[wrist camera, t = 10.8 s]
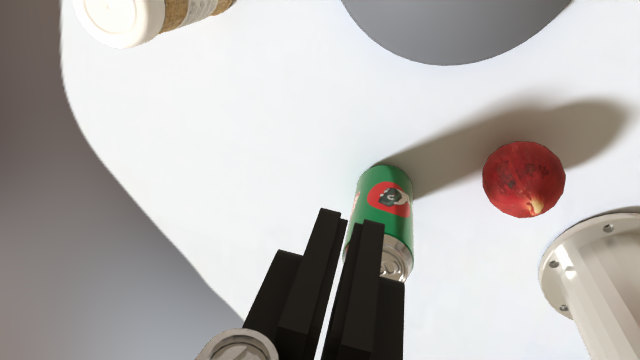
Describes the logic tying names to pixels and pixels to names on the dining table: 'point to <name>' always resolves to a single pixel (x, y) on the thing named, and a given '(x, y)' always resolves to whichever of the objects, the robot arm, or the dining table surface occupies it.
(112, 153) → the dining table surface
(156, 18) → the spice jar
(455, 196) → the dining table surface
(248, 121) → the dining table surface
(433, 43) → the dial
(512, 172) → the onion
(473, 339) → the dining table surface
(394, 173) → the soda can
